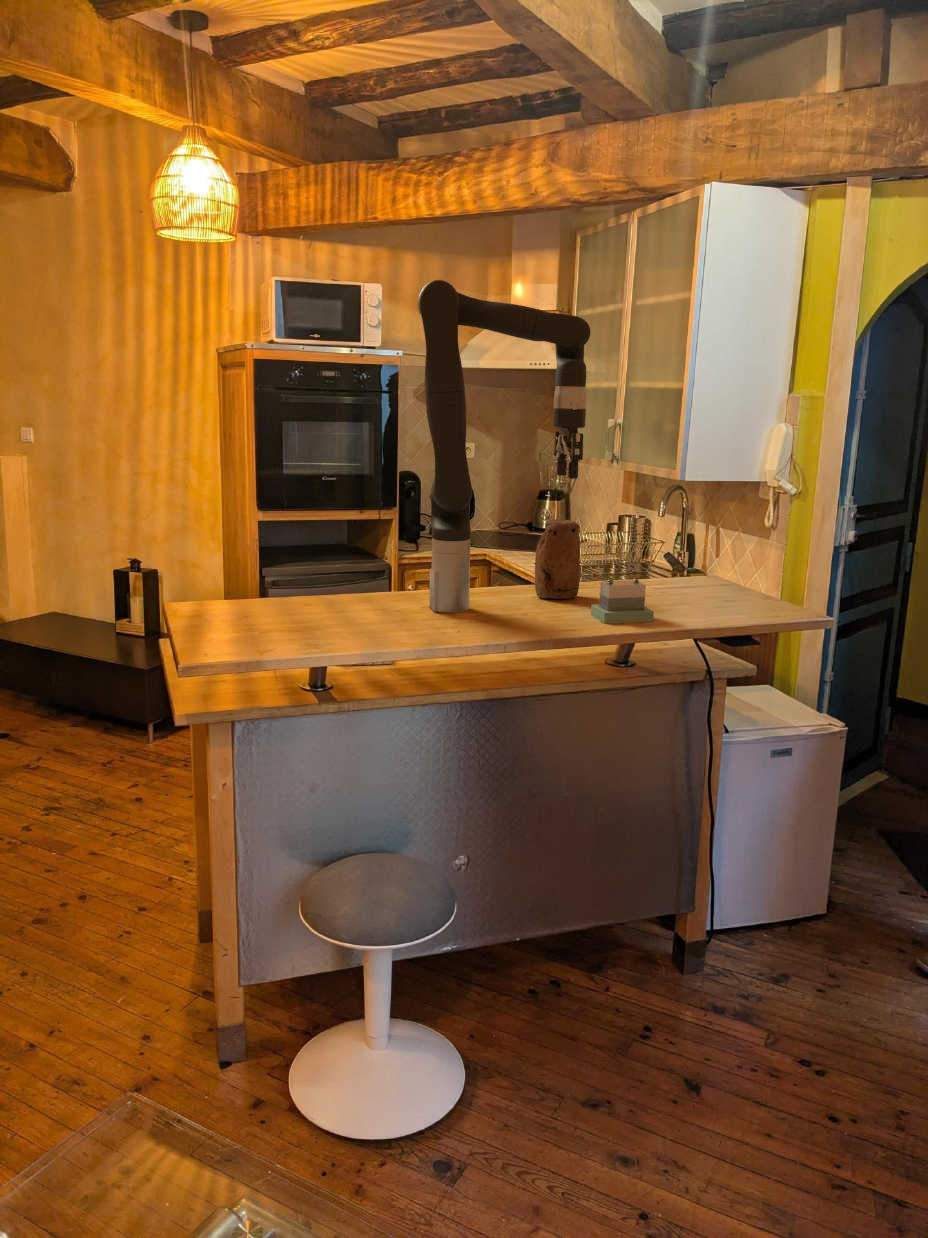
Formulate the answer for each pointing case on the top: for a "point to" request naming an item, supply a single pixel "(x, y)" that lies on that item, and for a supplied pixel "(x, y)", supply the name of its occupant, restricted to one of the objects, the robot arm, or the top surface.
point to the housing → (622, 595)
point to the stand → (622, 615)
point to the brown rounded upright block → (558, 560)
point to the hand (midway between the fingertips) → (567, 476)
